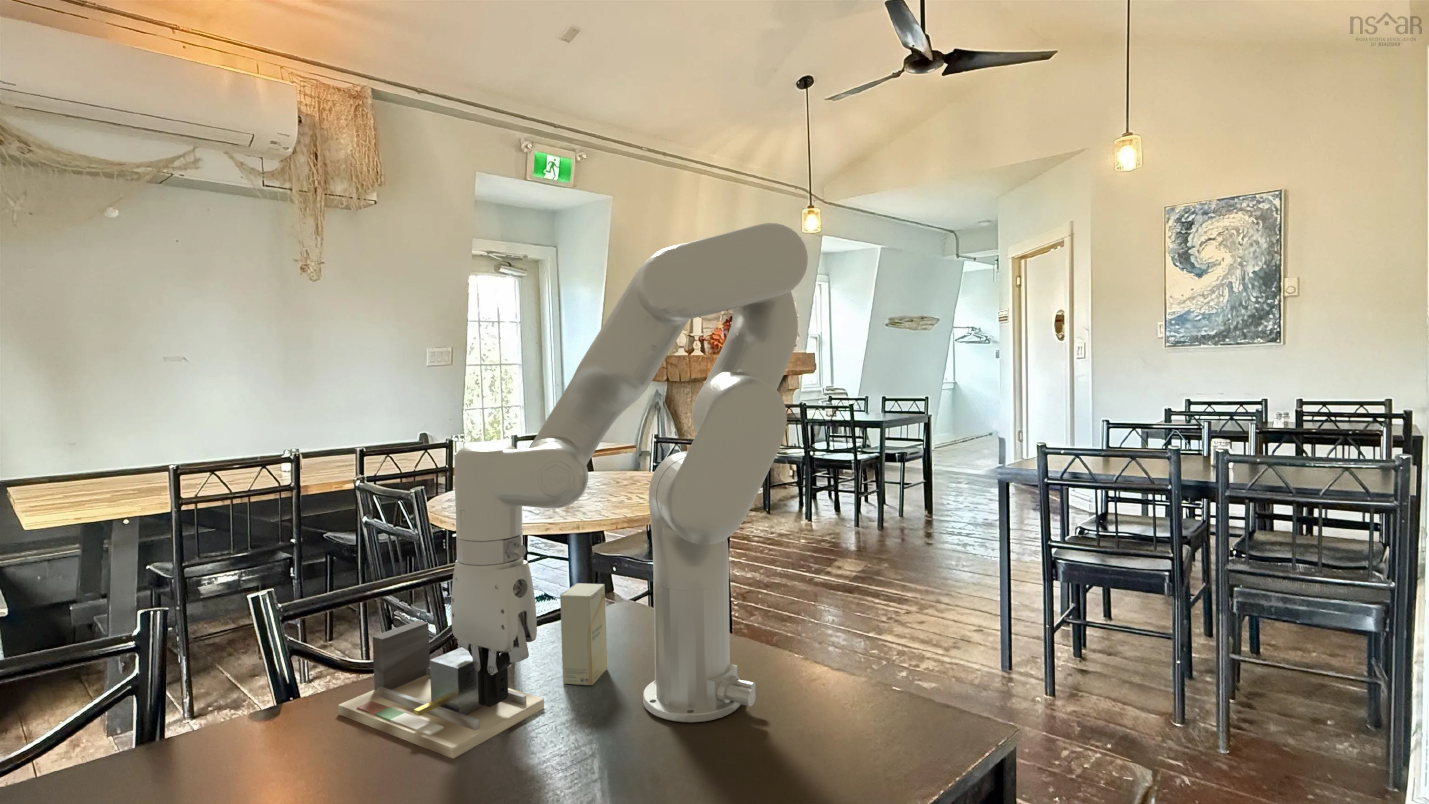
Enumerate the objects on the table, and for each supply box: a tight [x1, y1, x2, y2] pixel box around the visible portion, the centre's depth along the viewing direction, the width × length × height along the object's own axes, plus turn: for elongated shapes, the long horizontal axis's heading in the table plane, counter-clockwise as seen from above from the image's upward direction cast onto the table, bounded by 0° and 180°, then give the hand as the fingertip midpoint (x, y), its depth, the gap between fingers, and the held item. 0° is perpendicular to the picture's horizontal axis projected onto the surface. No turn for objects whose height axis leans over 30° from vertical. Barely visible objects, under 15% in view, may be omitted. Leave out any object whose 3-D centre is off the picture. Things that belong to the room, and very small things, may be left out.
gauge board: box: [337, 619, 545, 759], centre depth 95 cm, size 21×14×8 cm, turn 58°
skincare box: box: [559, 582, 608, 686], centre depth 105 cm, size 6×4×12 cm
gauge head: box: [414, 646, 484, 716], centre depth 93 cm, size 5×10×6 cm, turn 148°
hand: (493, 701), depth 92 cm, fingers closed
